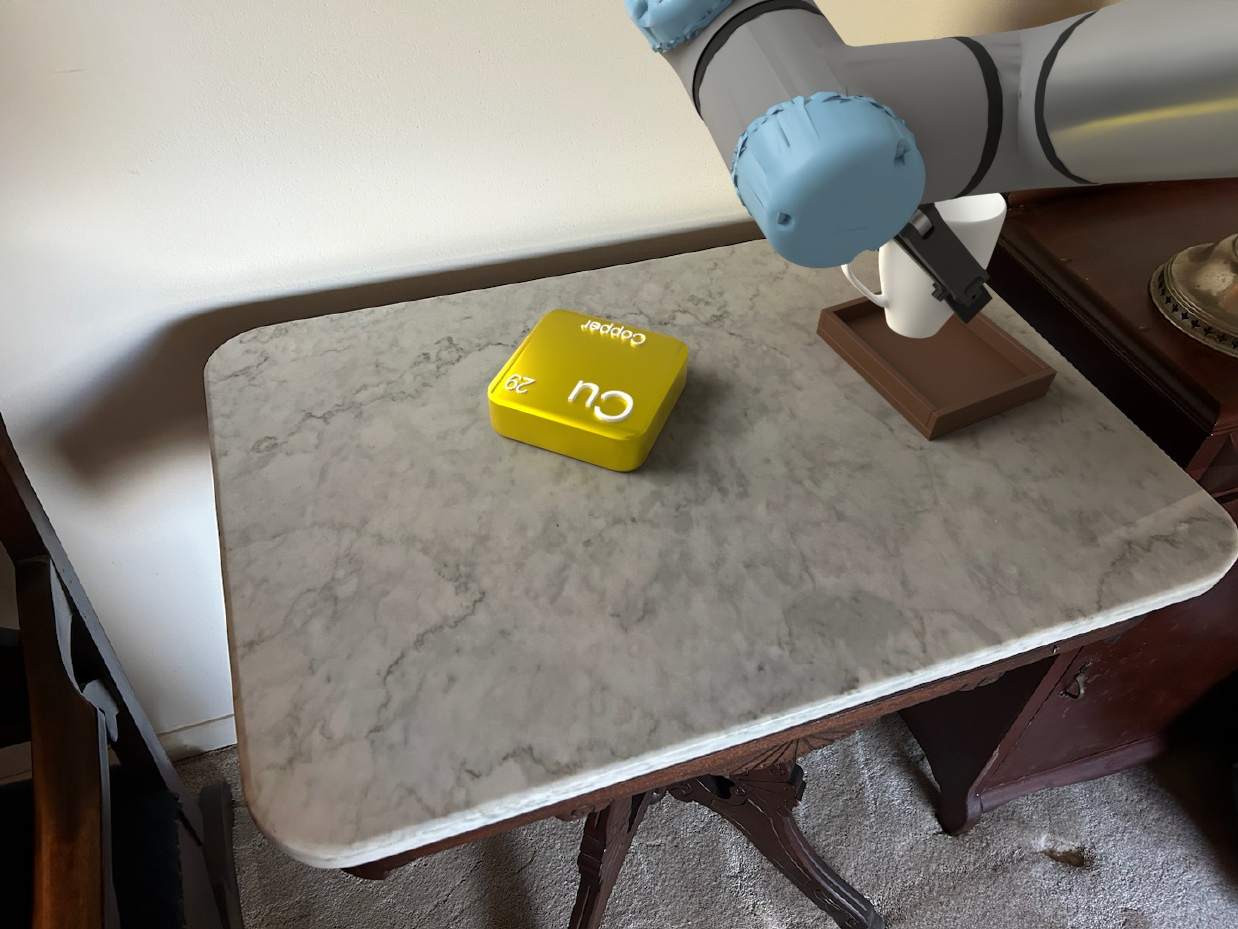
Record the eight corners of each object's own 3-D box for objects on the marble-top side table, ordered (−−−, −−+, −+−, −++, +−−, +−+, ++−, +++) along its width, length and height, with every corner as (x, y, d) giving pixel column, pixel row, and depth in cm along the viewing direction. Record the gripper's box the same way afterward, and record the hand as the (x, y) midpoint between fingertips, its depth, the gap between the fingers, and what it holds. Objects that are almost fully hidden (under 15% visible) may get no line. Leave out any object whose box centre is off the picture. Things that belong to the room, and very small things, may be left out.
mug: (934, 292, 75) (973, 168, 67) (981, 347, 69) (1030, 217, 61) (806, 306, 73) (831, 180, 65) (843, 363, 67) (875, 232, 59)
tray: (1045, 395, 82) (1058, 371, 80) (928, 441, 77) (937, 417, 75) (925, 297, 92) (933, 274, 90) (815, 332, 88) (821, 309, 86)
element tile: (691, 375, 83) (695, 336, 79) (636, 479, 73) (638, 440, 70) (553, 337, 87) (551, 298, 83) (483, 431, 77) (477, 392, 73)
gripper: (688, 106, 60) (827, 250, 77) (877, 256, 47) (994, 389, 64) (761, 15, 58) (888, 183, 75) (981, 146, 45) (1074, 314, 62)
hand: (937, 278), depth 69 cm, fingers closed on mug, 8 cm apart
